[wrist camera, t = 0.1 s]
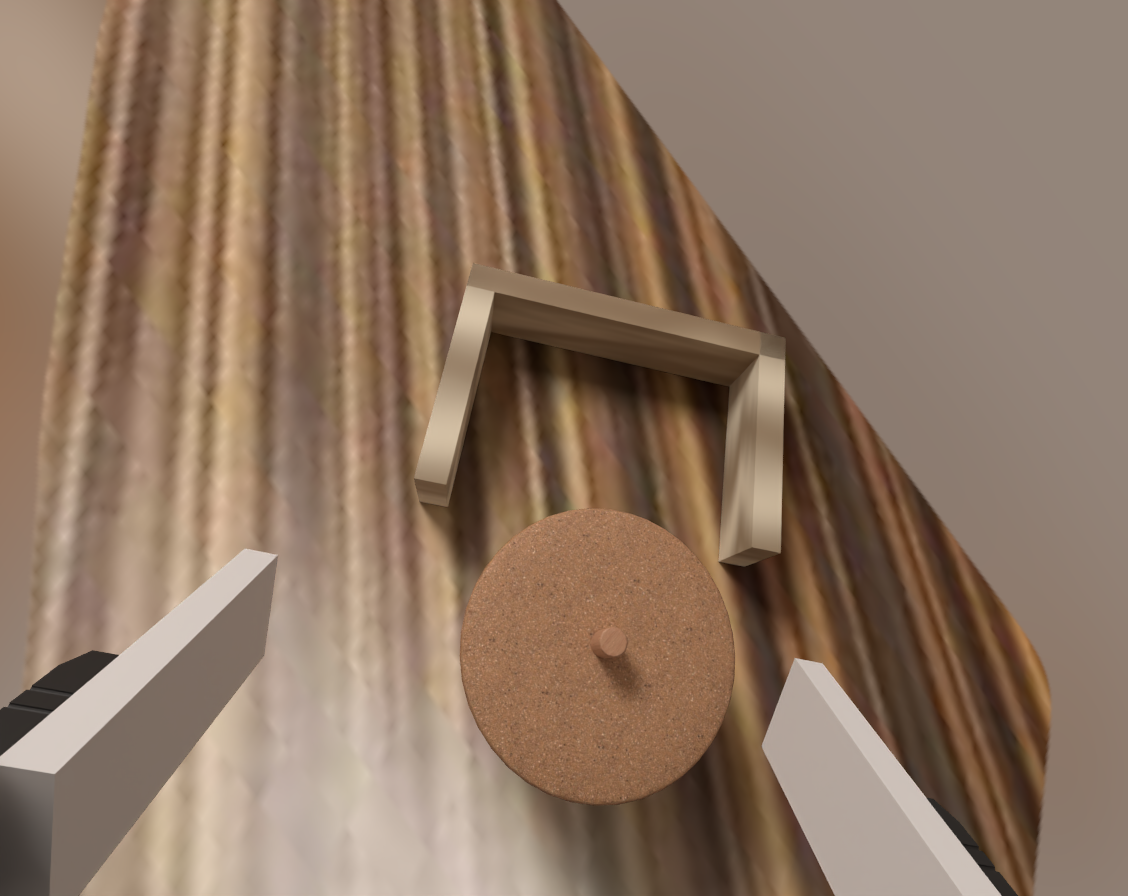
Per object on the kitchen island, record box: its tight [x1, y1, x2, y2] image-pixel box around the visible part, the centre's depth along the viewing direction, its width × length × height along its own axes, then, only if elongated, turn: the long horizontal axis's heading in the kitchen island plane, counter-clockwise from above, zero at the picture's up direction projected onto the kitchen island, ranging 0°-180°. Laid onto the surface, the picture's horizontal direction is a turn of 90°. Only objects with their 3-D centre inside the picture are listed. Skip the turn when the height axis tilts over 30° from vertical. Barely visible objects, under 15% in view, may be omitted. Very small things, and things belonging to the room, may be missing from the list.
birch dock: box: [414, 263, 785, 567], centre depth 32 cm, size 12×18×4 cm
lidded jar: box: [460, 508, 735, 806], centre depth 25 cm, size 11×11×9 cm
